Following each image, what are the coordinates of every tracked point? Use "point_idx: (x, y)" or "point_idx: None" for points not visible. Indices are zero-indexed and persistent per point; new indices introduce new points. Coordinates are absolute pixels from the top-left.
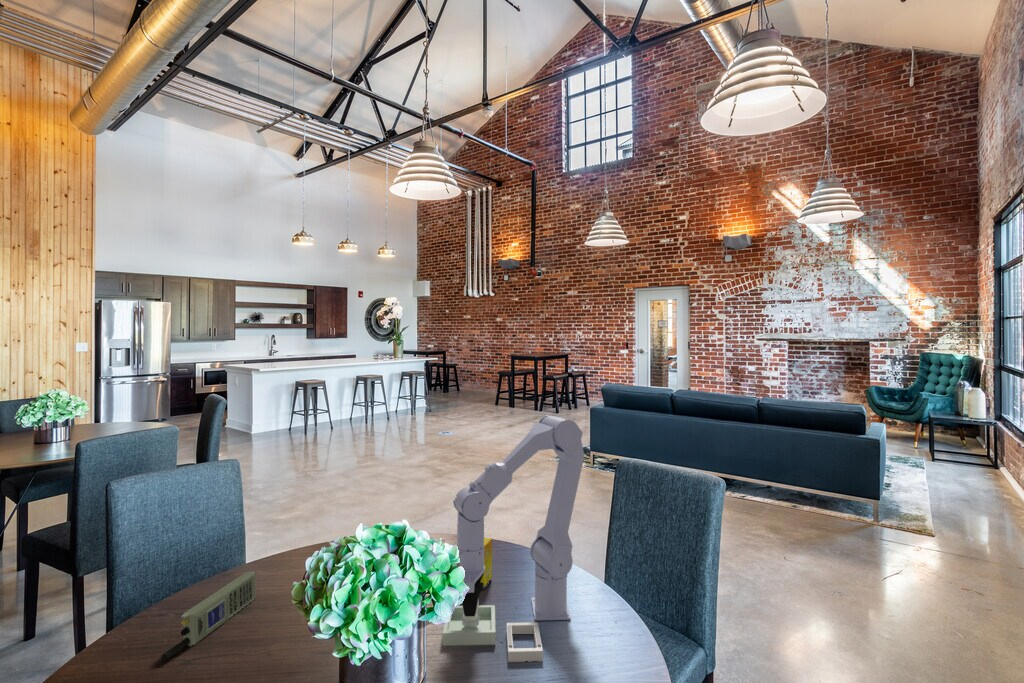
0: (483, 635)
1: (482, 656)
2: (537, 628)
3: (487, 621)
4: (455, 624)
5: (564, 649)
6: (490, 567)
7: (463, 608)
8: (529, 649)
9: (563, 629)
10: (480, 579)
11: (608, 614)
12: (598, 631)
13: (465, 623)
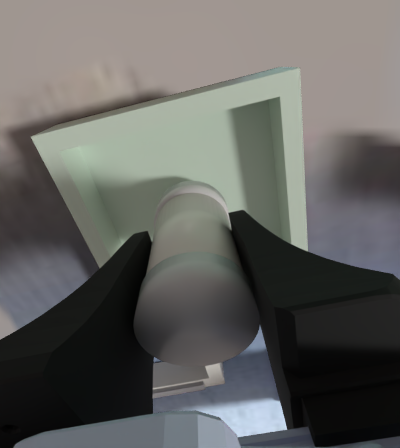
0: None
1: (62, 269)
2: (187, 391)
3: None
4: (202, 139)
5: (164, 402)
6: None
7: (114, 254)
8: None
9: (242, 394)
10: (281, 402)
11: None
12: (243, 433)
13: (156, 210)
